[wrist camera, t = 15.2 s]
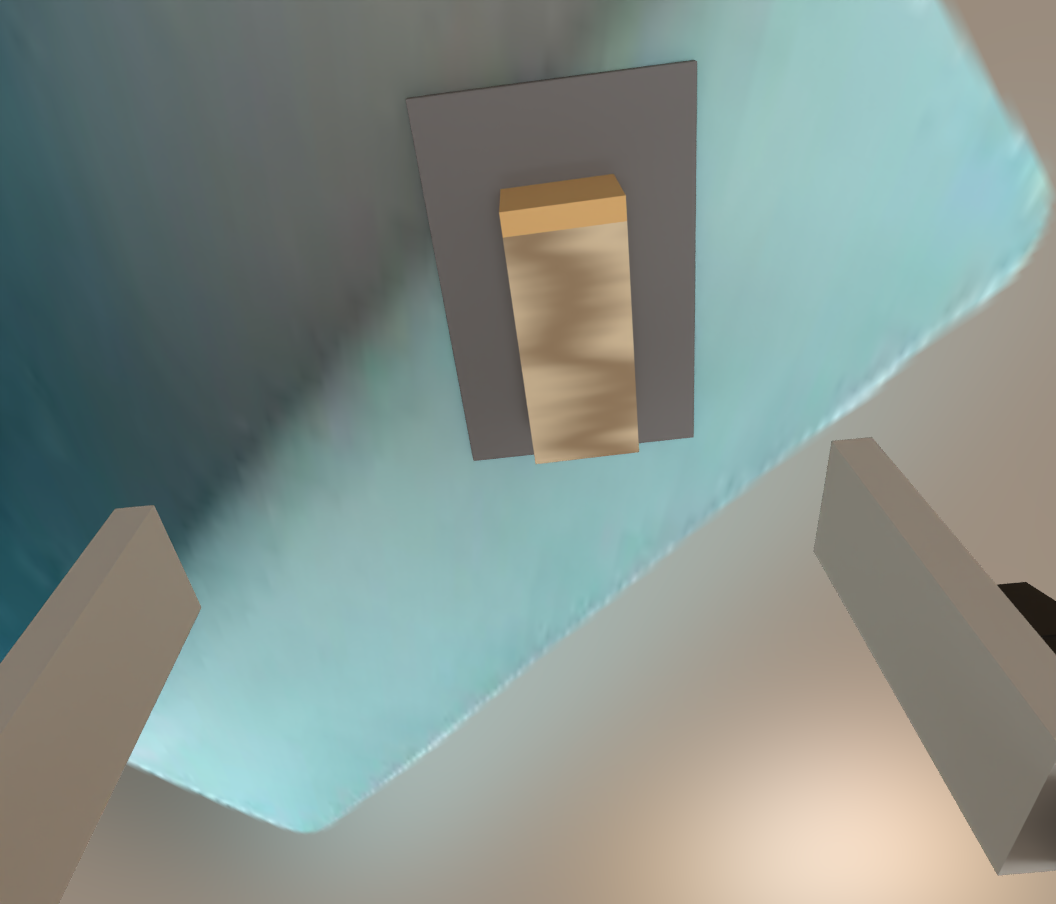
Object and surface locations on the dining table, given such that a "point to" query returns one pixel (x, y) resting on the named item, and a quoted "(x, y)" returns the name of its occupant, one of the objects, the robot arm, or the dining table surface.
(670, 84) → the rubber mat
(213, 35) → the dining table surface
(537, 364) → the maple block
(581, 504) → the dining table surface
